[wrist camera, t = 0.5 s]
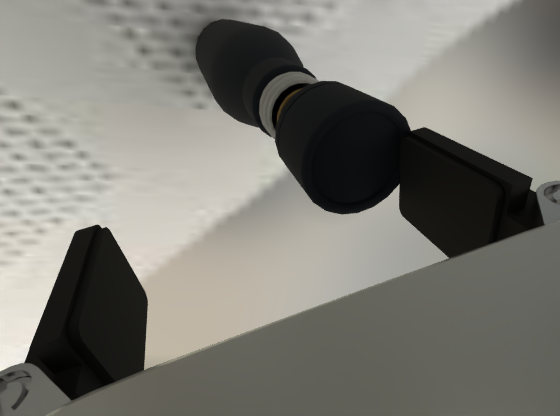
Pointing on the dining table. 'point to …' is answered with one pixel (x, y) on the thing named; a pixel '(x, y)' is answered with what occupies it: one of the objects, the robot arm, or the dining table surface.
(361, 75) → the dining table surface
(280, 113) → the wine bottle
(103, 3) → the dining table surface
